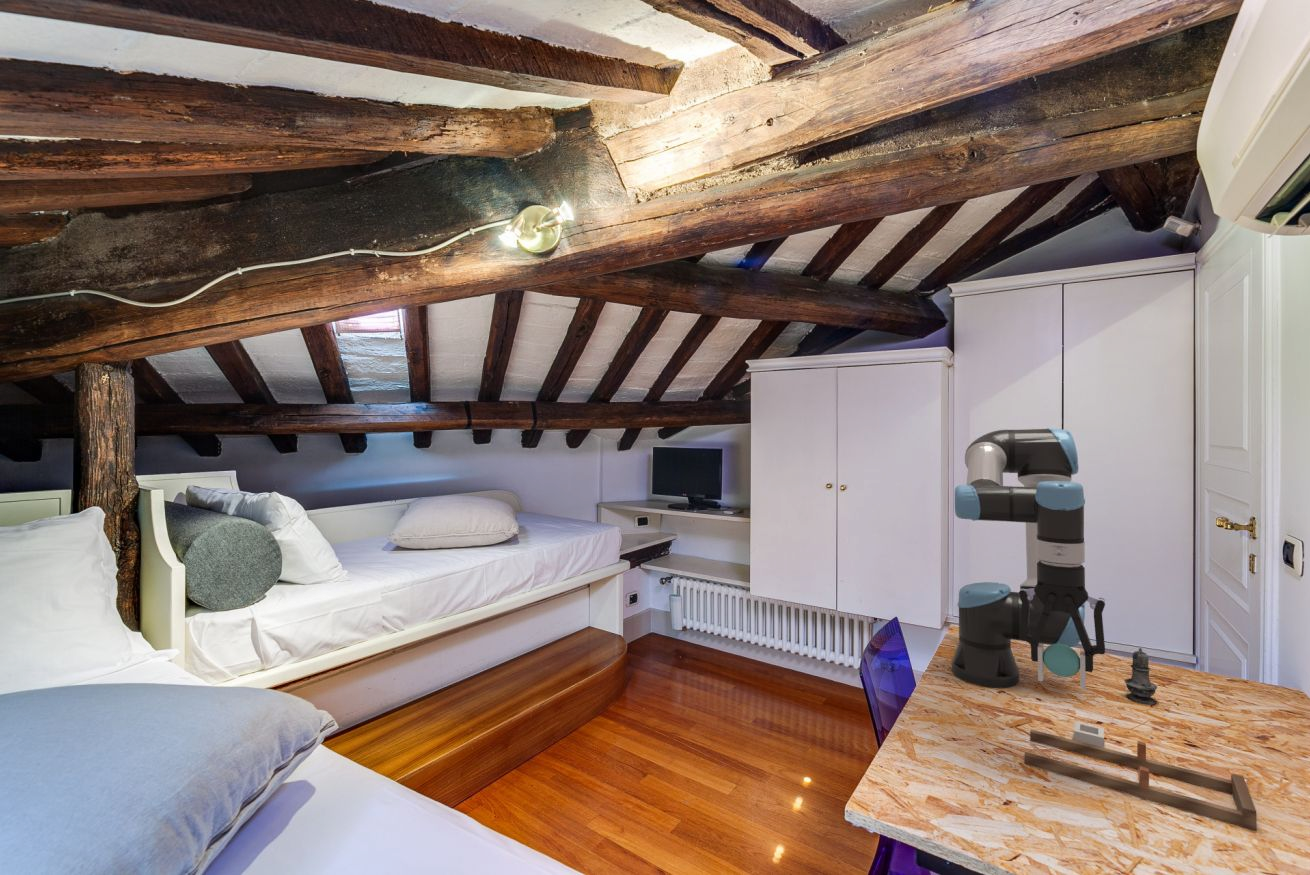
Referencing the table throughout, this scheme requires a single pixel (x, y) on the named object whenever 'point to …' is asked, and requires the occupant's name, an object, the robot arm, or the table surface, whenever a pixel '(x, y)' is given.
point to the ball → (1061, 660)
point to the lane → (1142, 789)
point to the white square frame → (1089, 734)
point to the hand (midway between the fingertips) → (1061, 682)
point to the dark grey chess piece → (1140, 680)
